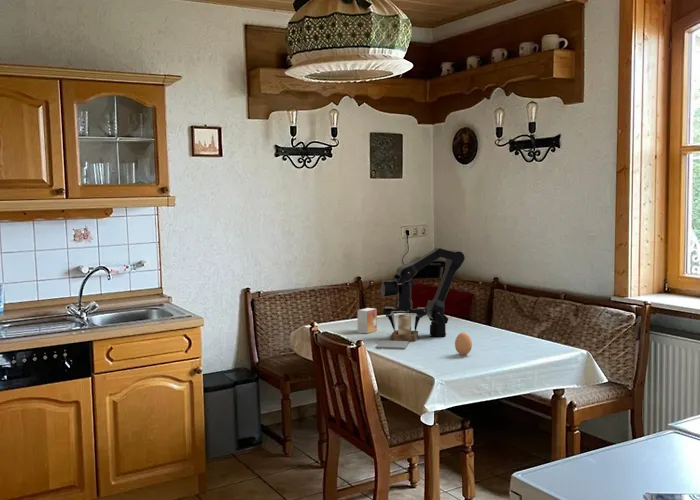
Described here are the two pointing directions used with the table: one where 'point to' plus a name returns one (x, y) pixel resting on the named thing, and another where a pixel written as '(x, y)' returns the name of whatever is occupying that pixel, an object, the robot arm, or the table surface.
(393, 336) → the walnut holder
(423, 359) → the table surface
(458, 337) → the egg
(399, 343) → the slate mat
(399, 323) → the birch block
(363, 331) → the small box
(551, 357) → the table surface
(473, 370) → the table surface
